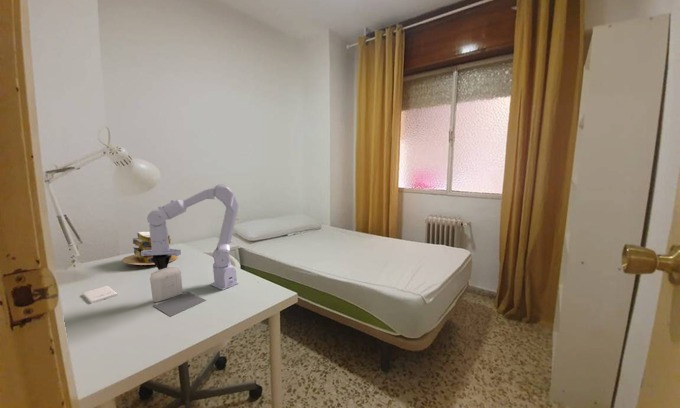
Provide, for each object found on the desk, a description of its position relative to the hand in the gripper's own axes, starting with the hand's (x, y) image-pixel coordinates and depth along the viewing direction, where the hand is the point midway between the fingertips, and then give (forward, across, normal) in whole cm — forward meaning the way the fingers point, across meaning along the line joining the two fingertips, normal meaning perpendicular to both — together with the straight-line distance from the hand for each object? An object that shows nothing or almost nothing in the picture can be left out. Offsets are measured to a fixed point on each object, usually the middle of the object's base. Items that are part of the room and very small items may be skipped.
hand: (163, 272), depth 105 cm
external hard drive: (+11, +28, -1) cm, 30 cm away
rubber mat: (+10, -9, +6) cm, 15 cm away
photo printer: (+10, -2, +1) cm, 10 cm away
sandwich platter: (+10, +34, -40) cm, 53 cm away
